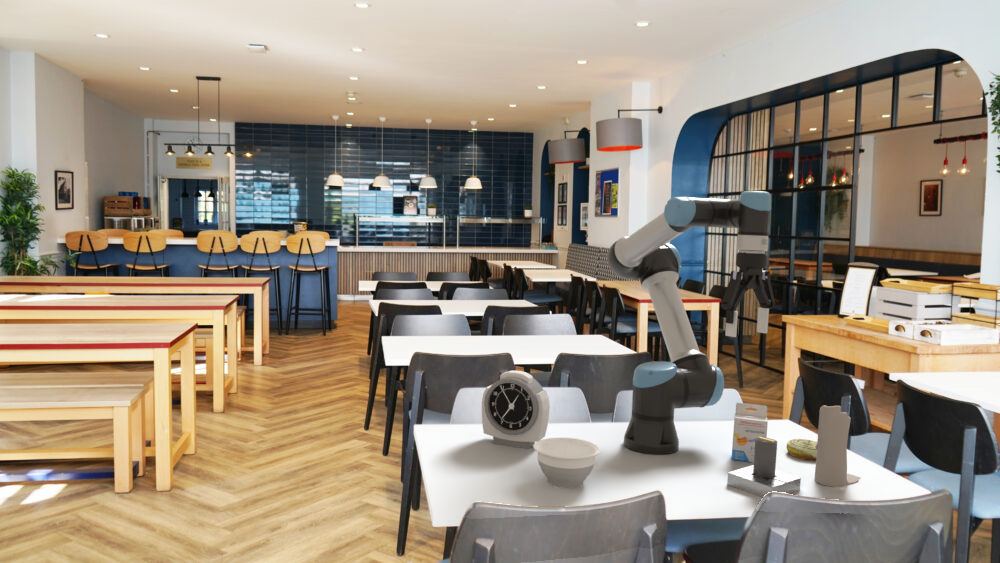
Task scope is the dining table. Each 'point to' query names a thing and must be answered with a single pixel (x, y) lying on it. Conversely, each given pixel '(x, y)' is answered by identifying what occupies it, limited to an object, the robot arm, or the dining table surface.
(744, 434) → the ink box
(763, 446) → the grey rectangular block
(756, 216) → the robot arm
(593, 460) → the bowl
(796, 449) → the decorated donut
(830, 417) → the grey boot shape
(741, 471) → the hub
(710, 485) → the dining table surface
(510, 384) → the alarm clock
